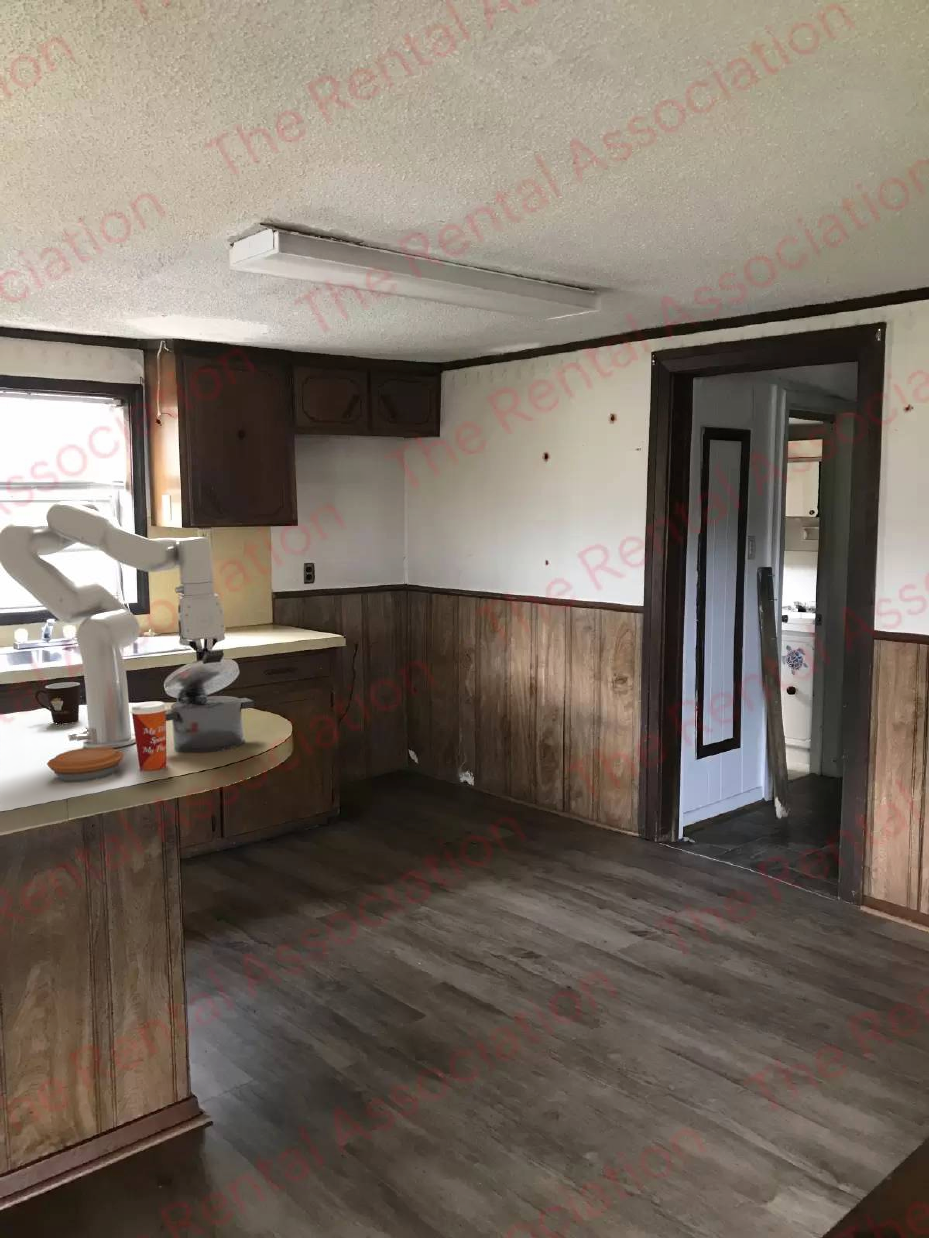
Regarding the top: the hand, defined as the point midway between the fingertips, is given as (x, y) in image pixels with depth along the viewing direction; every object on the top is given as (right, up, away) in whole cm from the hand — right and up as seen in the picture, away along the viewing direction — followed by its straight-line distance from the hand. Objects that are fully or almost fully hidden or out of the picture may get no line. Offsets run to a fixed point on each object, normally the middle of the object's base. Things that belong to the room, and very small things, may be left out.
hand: (204, 667), depth 238 cm
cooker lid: (0, -3, 0) cm, 3 cm away
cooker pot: (0, -18, +3) cm, 18 cm away
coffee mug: (-48, -16, +36) cm, 62 cm away
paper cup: (-7, -21, -17) cm, 28 cm away
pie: (-20, -22, -21) cm, 37 cm away
